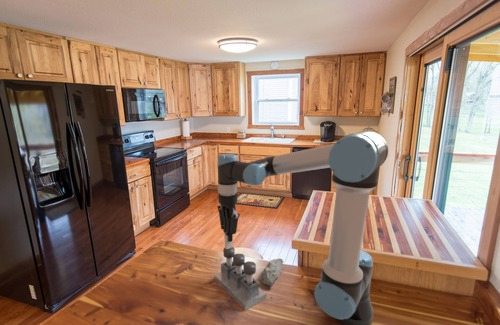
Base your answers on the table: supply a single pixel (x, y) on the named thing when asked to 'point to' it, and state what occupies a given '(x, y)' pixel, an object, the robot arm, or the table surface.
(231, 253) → the knob
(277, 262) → the rock
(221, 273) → the square socket rack
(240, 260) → the knob
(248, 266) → the knob
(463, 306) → the table surface
